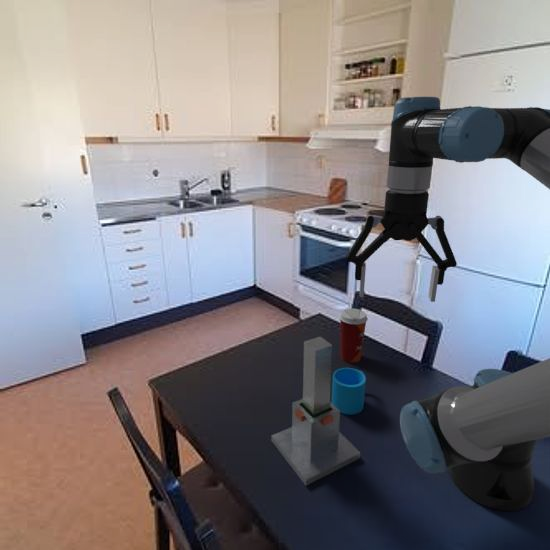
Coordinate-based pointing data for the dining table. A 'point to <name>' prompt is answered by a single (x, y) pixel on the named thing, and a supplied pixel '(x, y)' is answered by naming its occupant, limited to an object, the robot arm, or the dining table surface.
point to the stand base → (314, 444)
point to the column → (317, 376)
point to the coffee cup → (352, 334)
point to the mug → (348, 390)
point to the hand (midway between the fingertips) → (396, 296)
